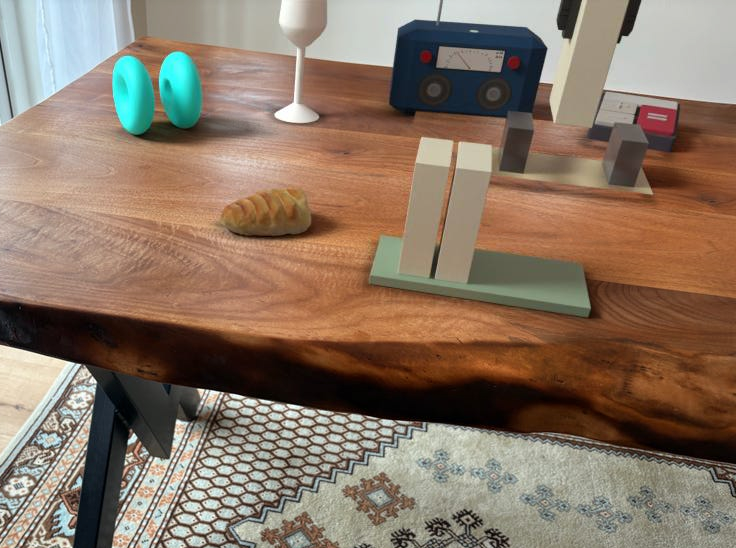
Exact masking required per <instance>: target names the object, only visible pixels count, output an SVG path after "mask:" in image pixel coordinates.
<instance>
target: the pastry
mask: <svg viewBox="0 0 736 548" xmlns="http://www.w3.org/2000/svg"><path fill="white" fill-rule="evenodd" d="M220 223H221V225H222V226H223V227H224V228H226V229H227V230H229V231H231V232H233V233H236V234H238V235H240V236H242V235H244V236H246V237H247V236H248V237H251V236H260V237H264V236H271V237H276V236H285V235H287V234H291V235H298V234H299V235H300V234H301V233H304V232H306V231H308V228H309V227H310V226H311V225H312V216H311V210H310V207H309V205H308V199H307V196H306V194H305V192H304V191H303V189H301V188H300V187H294V186H291V185H290V186H289V187H288V188H287V189H282V188H281V189H280V188H272V189H261V190H258V191H256V192H255V193H254V194H251V195H250V196H247V197H245V198H244V197H241V198H239V199H237V200H236V201H234V202H231V203H229V204H228V205H226V206H224V208H223V210H222V212H221V215H220Z"/></svg>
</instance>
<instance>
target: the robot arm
mask: <svg viewBox="0 0 736 548" xmlns="http://www.w3.org/2000/svg"><path fill="white" fill-rule="evenodd" d="M642 1H643V0H629V3H628V6H627V10H626V13H625V17H624V20H623V24H622V27H621V30H620V34H619V37H618V41H617V44H616V45H618V44H621V42H622V39H623V37H629V36H630V35H631V34H632V32H633V30H634V28H635V24H636V20H637V17H638V14H639V11H640V7H641V4H642ZM581 2H582V0H560V3H559V7H558V12H557V15H556V27H557V30H558V31H561V37H562V39H563V40H565V39H572V37H573V33H574V29H575V25H576V22H577V18H578V14H579V10H580V6H581Z"/></svg>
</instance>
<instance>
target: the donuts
mask: <svg viewBox="0 0 736 548" xmlns="http://www.w3.org/2000/svg"><path fill="white" fill-rule="evenodd" d="M158 87H159V88H158V89H159V96H160V101H161V105H162V108H163V110H164V113H165V115H166V116H167V118H168V120H169V121H170V122H171V123H172V124H173V125H174V126H175V127H178V128H180V129H185V130H186V129H190V128H192V127H194V126H195V125H196V124H197V123H198V121H199V120H200V119H199V118H200V117H201V113H202V107H203V88H202V82H201V77H200V74H199V70H198V68H197V66H196V64H195V63H194V60H193V59H192V58H191V57H190V56H189V55H188V54H187V53H185V52H183V51H174V52H171V53H170V54H168V55H167V56H166V57H165V58H164V60H163V62H162V64H161V67H160V71H159V77H158ZM154 91H155V90H154V85H153V83H152V79H151V75H150V74H149V71H148V70H147V68H146V67H145V65H144V63H143V62H142V61H140V59H138V58H137V57H135V56H132V55H124V56H122V57H120V58H119V59H118V60H117V61H116V62H115V65H114V68H113V71H112V94H113V101H114V105H115V111H116V114H117V117H118V120H119V121H120V123H121V125H122V127H123V128H124V130H126V131H127V132H128V133H129V134H132V135H137V136H138V135H142V134H144V133H146V132H147V131H148V129H149V128H150V127H151V125H152V124H153V120H154V116H155V111H156V110H155V109H156V100H155V92H154Z"/></svg>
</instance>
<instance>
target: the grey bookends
mask: <svg viewBox="0 0 736 548" xmlns="http://www.w3.org/2000/svg"><path fill="white" fill-rule="evenodd" d="M534 132H535V126H534V118H533V112H532V113H526V112H516V111H508V112H507V117H506V118H505V122H504V126H503V131H502V135H501V140H500V144H499V148H498V147H492V174H491V176H498V177H499V176H500V177H505V178H506V177H507V178H515V179H522V180H531V181H539V182H546V183H547V182H548V183H554V184H555V183H557V184H563V185H571V186H580V187H588V188H597V189H603V190H612V191H620V192H626V193H627V192H629V193H636V194H643V195H654V192H653V190H652V188H651V186H650V184H649V183H650V182H649V181H648V179H647V177H646V174H645V172H644V169H643V167H642V165H643V163H644V159H645V156H646V154H647V150H648V149H647V148H648V145H649V142H648V140H647V138H646V136H645V134H644V132H643V130H642V128H641V126H640V125H636V124H627V123H618V122H615V123H614V126H613V130H612V133H611V136H610V139H609V142H607V147H606V149H605V153H604V156H603V159H602V160H599V159H591V158H582V157H574V156H567V155H566V156H565V155H559V154H557V155H556V154H548V153H539V152H533V151H530V149H531V145H532V141H533V136H534Z"/></svg>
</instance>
